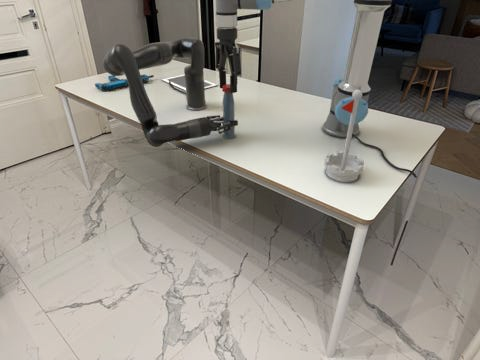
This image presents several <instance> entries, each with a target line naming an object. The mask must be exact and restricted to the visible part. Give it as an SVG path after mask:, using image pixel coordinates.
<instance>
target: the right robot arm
mask: <svg viewBox="0 0 480 360" xmlns="http://www.w3.org/2000/svg"><path fill="white" fill-rule="evenodd" d="M290 1H291V0H215V23H216V24H215V26H216V27H217V28H216V39H217V40H219V41H216V42H215V41H214V47H215V48H214V49H215V59H214V60H215V63H214V67H215V68H214V69H216V70H217V71H218V78H219V80H218V81H219V89H222V87H223V85H226V84H227V71H226V70H227V68H226V64H227V61H228V65H229V70H230V71H229V72H230V75H229V84H230V93H233V94H234V93H237V92H238V76H241V75H242V64H241V63H242V62H241V50H242V47H241V46H237V45H236V44H237V43H236V40H237V39H238V28H237V26H238V10H255V11H256V10H258V11H269V10H270V9H271V8H272V4H276V3H277V4H278V3H283V2H290ZM392 1H393V0H353V5H354V7H355V8H356V14H355V19H354V24H353V28H352V34H351V38H350V39H351V41H350V44H349V50H348V55H347V61H346V65H345V70H344V76H340V77H337V78H335V79H334V82H333V85H332V87H333V88H332V93H331V101H330V107H329V112H328V115H327V117H326V120H325V121H324V123H323V126H322V130H323V132H324V133H325V134H326V135H329V136H332V137H335V138H339V139H341V138H342V139H346V138H347V133H348V127H349V122H350V117H351V113H350V112H348V111H346V110H343V109H341V108H342V107H344V106H345V105H347V104H348V103H350V102H351V101H353V100H354V98H353V97H352V94H353V92H354V91H355V90H360V91H361V92H362V97H361V98H360V99H359V101H358V107H357V112H356V117H355V122H354V127H353V132H352V137H351V138H354V139H356V140H357V141H358V142H359V143H360V144H362V145H364V146H366V147H370V148H373V149H376V150H378V151H379V152H380V153H381V157H382V158H383V159H384V161H385V162H386V163H387V164H388V165H389V166H390V167H392V168H394V169H396V170H398V171H402V172H407V173H410V174H411V175H412V176H413V177H414V178H415V179H417V178H418V176H417V174H416V173H415V172H414V171H412V170H411V169H408V168H403V167H399V166H396V165H395V164H393V163H392V162H390V160H389V159H388V158H387V157H386V155H385V153H384V151H383V149H382V148H380V147H378V146H376V145H373V144H370V143H366V142H364V141H362V139H360V138H359V137H358V136H357V135H359V132H360V125H359V123H362V122H363V121H364V120H365V119H366V117H367V116H368V113H369V104H368V102H369V98H370V93H371V90H372V88H371V86H370V85H369V79H370V74H371V71H372V66H373V62H374V57H375V53H376V49H377V45H378V40H379V36H380V32H381V27H382V23H383V19H384V15H385V11H387V9H389V8H390V7H391V6H392ZM408 224H409V220H405V222H404V226H403V228H402V231H401V234H400V236H399V239H398V241H397V245H396V247H395V250H394V253H393V255H392V258H391V262H390V266H393V265H394V261H395V260H396V257H397V253H398V251H399V248H400V245H401V242H402V239H403V237H404V235H405V232H406V229H407V226H408Z"/></svg>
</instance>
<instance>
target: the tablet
mask: <svg viewBox="0 0 480 360" xmlns="http://www.w3.org/2000/svg"><path fill="white" fill-rule="evenodd" d="M169 80H170V81H171V85H172V86H173V87H175V88H177V89H179V90H181V91H184V92H186V84H185V74H179V75H176V76H171V77H167V78H162V79H161V81H162V82H164V83H167V84H169ZM218 86H219V84H217V83H214V82H212V81H209V80H206V79H204V89H205V90H206V89H210V88H214V87H218Z"/></svg>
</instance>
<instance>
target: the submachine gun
mask: <svg viewBox="0 0 480 360" xmlns="http://www.w3.org/2000/svg"><path fill="white" fill-rule="evenodd" d="M140 75H141V78H142V81H143V83H145V82H146V83H147V81H148V80H150V79H151V78H154V77H155V76H154V74H151V75H147V74H140ZM107 77H108V80H109V82H103V83H100V82H96V83H94V86H95V88H97V89H98V90H100V91H107V90H113V91H114V90H115V89H116V88H120V87H125V86H128V81H127V78H121V79H120V78H118V77H117V76H113V75H108V76H107Z"/></svg>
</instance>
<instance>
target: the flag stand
mask: <svg viewBox="0 0 480 360" xmlns="http://www.w3.org/2000/svg"><path fill="white" fill-rule="evenodd" d="M352 97H353V98H354V100H353V101H351V102H350V103H348V104H347V105H345V106H344V107H342V108H341V109H343V110H346V111H348V112H350V113H351V117H350V122H349V127H348V133H347V138H345V144H344V149H343V150H340V151H338V150H337V151H336V153H335V154H334V153H333V152H329V153H327V154H326V158H325V159H324V162H323V163H324V168H325V169H326V170H325V173H326V175H327V176H328V178H330V179H332V180H334V181H337V182H341V183H350V182H354V181H356V180H357V179H358V178H359V175H360V174H361V173H362V172H363V171H364V166H365V161H364V159H363V158H358V155H357V154H356V153H352V152H350V154H349V151H350V147H351V142H352V138H353V137H352V132H353V127H354V122H355V117H356V112H357V107H358V101H359V99H360V98H361V97H362V92H361V91H360V90H355V91H354V92H353V94H352Z"/></svg>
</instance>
